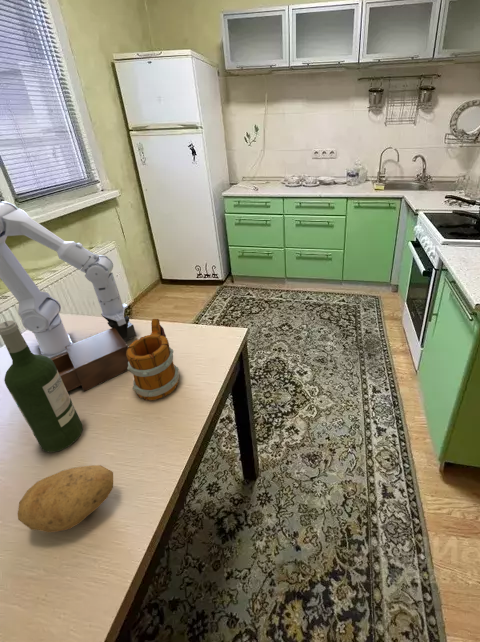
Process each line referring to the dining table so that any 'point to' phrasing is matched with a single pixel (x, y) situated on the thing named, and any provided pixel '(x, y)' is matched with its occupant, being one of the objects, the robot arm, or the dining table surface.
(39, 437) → the wine bottle
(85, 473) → the potato
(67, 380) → the drawer
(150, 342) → the mug
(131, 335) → the block
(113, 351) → the cabinet
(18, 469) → the dining table surface
